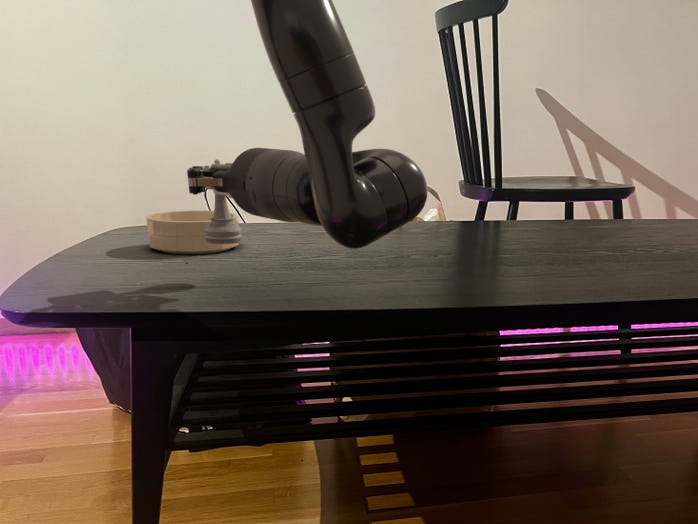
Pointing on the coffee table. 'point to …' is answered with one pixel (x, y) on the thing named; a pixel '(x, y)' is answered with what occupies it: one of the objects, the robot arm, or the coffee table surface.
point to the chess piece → (222, 223)
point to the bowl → (183, 232)
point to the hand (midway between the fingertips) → (207, 174)
